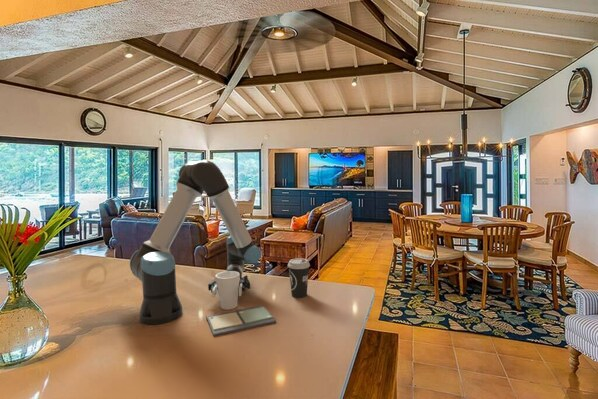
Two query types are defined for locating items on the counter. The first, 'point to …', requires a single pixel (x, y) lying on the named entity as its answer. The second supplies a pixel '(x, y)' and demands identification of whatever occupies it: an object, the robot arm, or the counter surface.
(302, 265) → the coffee cup
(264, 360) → the counter surface
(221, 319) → the tile board
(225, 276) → the foam cup
